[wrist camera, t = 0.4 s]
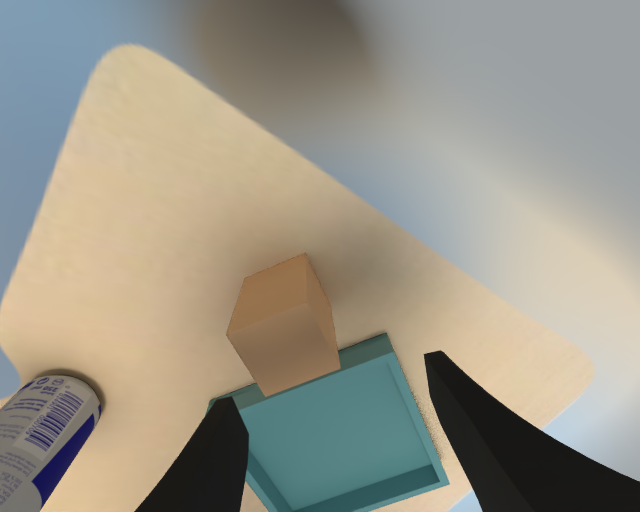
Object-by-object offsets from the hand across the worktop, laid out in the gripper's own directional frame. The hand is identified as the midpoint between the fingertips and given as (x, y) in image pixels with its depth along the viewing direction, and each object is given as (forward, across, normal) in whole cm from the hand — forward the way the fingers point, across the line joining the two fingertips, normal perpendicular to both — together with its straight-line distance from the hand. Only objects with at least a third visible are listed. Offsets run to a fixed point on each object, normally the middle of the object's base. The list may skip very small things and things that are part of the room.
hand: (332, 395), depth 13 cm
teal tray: (+9, +2, +13) cm, 16 cm away
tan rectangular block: (+10, +2, 0) cm, 10 cm away
